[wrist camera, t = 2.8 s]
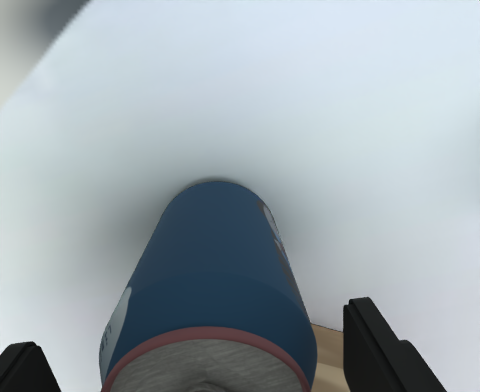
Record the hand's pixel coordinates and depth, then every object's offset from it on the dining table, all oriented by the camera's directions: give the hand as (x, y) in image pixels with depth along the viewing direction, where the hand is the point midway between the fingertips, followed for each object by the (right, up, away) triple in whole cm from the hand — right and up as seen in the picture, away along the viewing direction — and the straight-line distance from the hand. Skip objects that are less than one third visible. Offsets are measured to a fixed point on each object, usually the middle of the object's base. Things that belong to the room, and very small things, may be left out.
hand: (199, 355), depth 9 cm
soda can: (0, +3, +10) cm, 11 cm away
